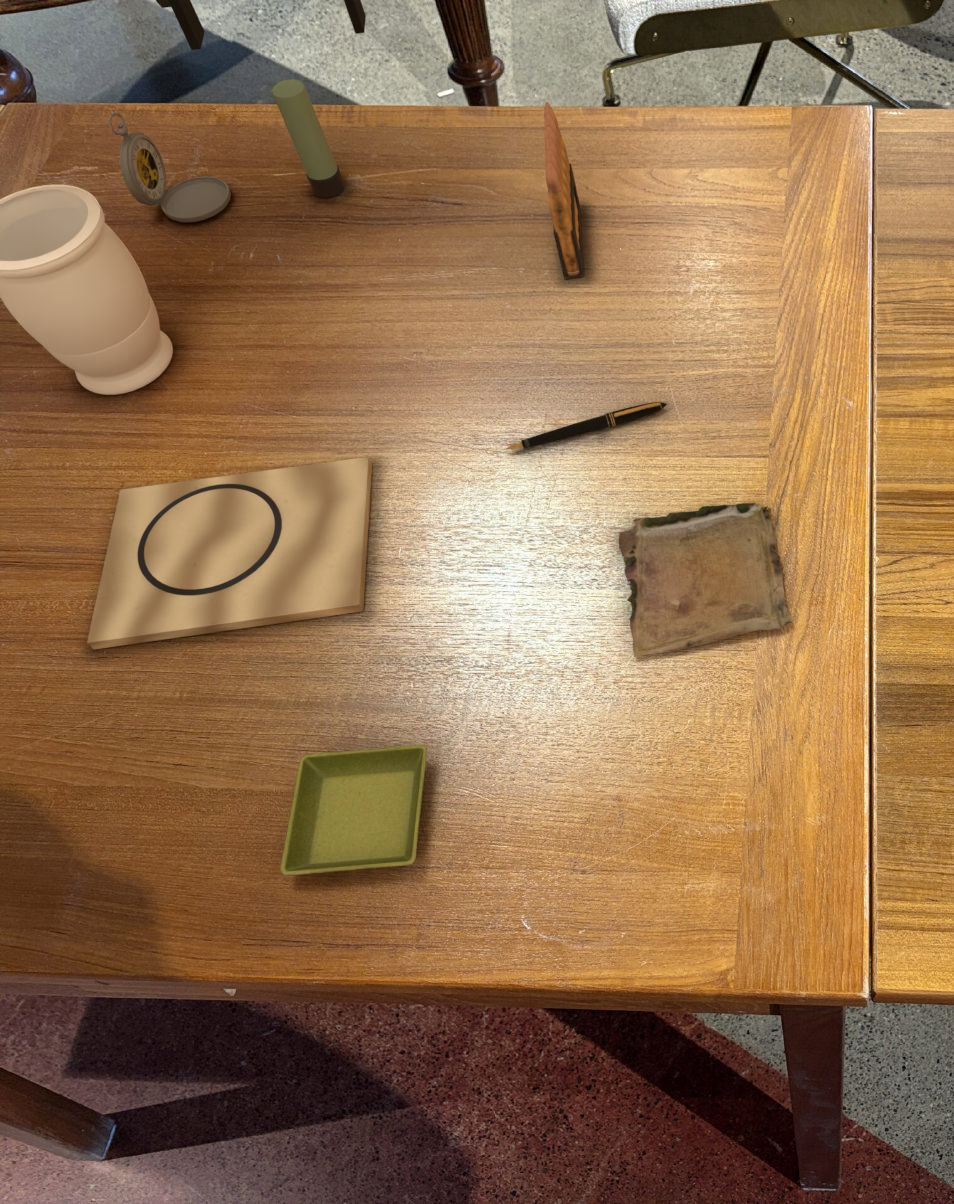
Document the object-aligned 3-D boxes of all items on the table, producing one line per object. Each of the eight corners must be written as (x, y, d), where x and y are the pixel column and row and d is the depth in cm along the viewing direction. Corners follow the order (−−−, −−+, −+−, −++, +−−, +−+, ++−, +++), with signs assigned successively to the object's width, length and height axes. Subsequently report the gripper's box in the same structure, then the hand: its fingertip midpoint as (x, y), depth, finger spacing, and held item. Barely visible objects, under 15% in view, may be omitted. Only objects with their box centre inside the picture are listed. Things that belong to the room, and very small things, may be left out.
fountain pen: (506, 460, 97) (502, 448, 96) (503, 450, 97) (499, 438, 96) (670, 413, 99) (668, 401, 98) (666, 404, 100) (664, 391, 99)
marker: (312, 199, 117) (268, 99, 108) (314, 180, 119) (272, 80, 109) (344, 196, 117) (303, 95, 108) (346, 176, 119) (306, 76, 110)
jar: (62, 341, 106) (-40, 203, 93) (179, 309, 108) (94, 169, 96) (70, 420, 100) (-38, 284, 88) (193, 384, 102) (105, 246, 90)
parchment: (769, 501, 94) (768, 494, 93) (796, 635, 86) (796, 628, 86) (616, 524, 93) (615, 516, 92) (631, 661, 85) (629, 654, 85)
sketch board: (93, 649, 87) (85, 642, 86) (126, 497, 95) (119, 488, 94) (363, 611, 88) (358, 603, 88) (372, 464, 97) (368, 455, 96)
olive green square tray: (423, 876, 77) (414, 864, 75) (290, 887, 76) (278, 875, 75) (436, 757, 81) (427, 743, 80) (311, 767, 81) (300, 754, 79)
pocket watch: (242, 209, 116) (197, 119, 108) (158, 241, 113) (106, 151, 105) (215, 168, 120) (170, 78, 112) (134, 199, 117) (81, 108, 109)
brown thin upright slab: (561, 208, 115) (536, 97, 105) (580, 206, 115) (556, 95, 105) (564, 279, 109) (537, 169, 99) (583, 277, 109) (559, 167, 99)
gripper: (-35, -222, 78) (122, 72, 96) (340, -252, 80) (426, 41, 98) (-10, -266, 83) (136, 23, 100) (346, -294, 85) (428, -5, 102)
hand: (280, 33), depth 99 cm, fingers open, 13 cm apart
